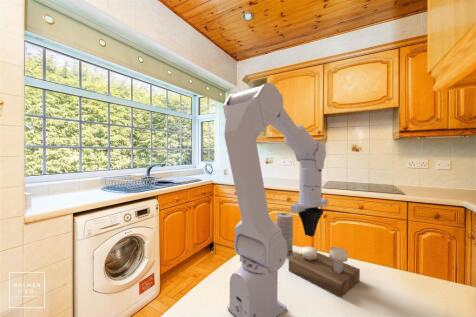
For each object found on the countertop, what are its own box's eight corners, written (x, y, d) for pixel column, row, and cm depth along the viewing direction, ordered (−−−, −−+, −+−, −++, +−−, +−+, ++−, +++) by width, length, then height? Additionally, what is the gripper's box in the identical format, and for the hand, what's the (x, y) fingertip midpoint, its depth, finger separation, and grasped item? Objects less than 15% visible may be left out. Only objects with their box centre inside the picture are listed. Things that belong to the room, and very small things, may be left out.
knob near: (342, 278, 49) (342, 255, 49) (326, 270, 53) (326, 249, 52) (350, 272, 52) (350, 251, 52) (334, 265, 55) (334, 245, 55)
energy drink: (291, 248, 71) (291, 212, 71) (293, 256, 66) (294, 217, 66) (274, 247, 72) (275, 212, 72) (276, 255, 67) (276, 216, 66)
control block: (340, 297, 47) (340, 284, 47) (288, 270, 58) (288, 259, 58) (359, 281, 53) (359, 269, 53) (309, 259, 64) (309, 249, 64)
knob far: (311, 274, 56) (311, 254, 56) (298, 267, 59) (298, 249, 59) (319, 269, 58) (319, 250, 58) (306, 263, 61) (306, 245, 61)
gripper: (308, 190, 50) (307, 247, 51) (337, 184, 60) (336, 233, 60) (284, 186, 56) (283, 238, 56) (314, 182, 65) (314, 226, 65)
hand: (309, 235), depth 58 cm, fingers closed
